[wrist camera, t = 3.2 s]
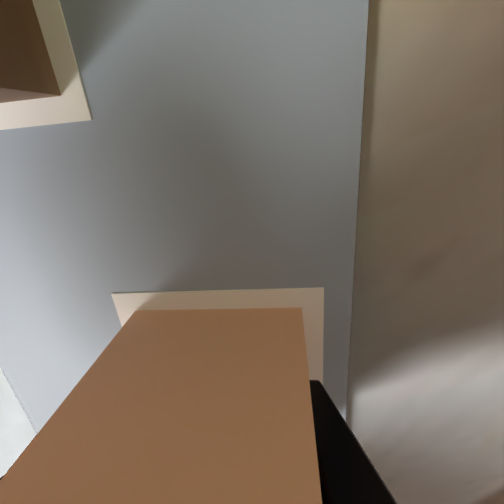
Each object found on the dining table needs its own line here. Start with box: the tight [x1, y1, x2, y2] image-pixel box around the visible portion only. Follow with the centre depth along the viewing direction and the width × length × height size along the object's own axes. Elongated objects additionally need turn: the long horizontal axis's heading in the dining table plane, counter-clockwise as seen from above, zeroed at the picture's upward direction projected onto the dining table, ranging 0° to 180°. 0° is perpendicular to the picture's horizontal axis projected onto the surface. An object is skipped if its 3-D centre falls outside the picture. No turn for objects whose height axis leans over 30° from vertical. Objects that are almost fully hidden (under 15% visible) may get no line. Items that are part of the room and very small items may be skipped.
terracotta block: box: [0, 307, 322, 504], centre depth 7 cm, size 4×4×4 cm
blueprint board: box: [0, 0, 369, 434], centre depth 7 cm, size 16×12×1 cm
